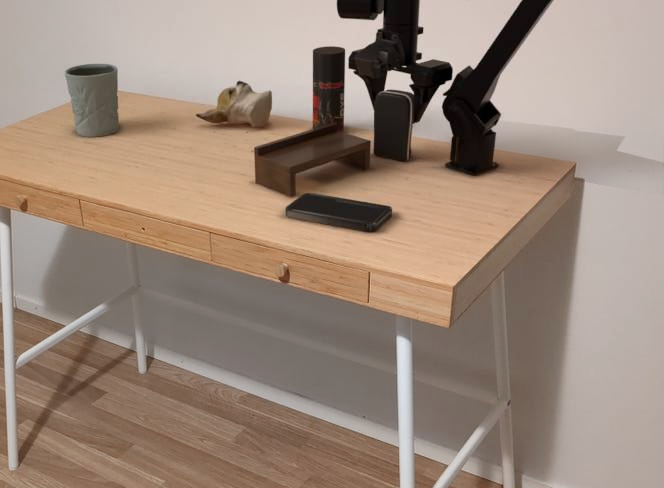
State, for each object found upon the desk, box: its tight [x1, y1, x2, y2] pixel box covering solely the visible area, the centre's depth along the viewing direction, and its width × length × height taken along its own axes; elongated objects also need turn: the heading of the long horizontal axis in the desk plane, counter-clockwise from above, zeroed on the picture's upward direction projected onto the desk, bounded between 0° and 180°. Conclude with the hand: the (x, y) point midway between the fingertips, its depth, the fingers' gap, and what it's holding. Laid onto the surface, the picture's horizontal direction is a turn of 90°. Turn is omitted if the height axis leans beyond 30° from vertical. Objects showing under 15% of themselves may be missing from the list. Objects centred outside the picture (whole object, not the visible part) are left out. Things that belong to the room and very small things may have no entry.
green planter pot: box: [64, 63, 120, 138], centre depth 177 cm, size 10×10×12 cm
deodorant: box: [312, 45, 346, 132], centre depth 168 cm, size 6×6×15 cm
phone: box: [285, 192, 393, 233], centre depth 137 cm, size 8×1×15 cm
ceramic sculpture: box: [195, 80, 273, 128], centre depth 177 cm, size 11×9×15 cm
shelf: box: [253, 123, 372, 198], centre depth 150 cm, size 9×18×6 cm, turn 127°
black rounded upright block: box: [372, 89, 416, 162], centre depth 155 cm, size 7×4×11 cm, turn 50°
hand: (396, 116), depth 154 cm, fingers open, 9 cm apart
